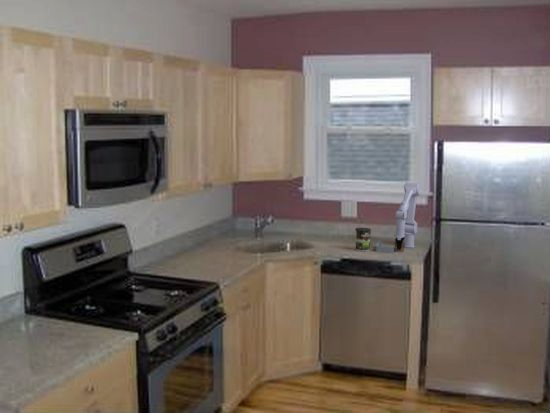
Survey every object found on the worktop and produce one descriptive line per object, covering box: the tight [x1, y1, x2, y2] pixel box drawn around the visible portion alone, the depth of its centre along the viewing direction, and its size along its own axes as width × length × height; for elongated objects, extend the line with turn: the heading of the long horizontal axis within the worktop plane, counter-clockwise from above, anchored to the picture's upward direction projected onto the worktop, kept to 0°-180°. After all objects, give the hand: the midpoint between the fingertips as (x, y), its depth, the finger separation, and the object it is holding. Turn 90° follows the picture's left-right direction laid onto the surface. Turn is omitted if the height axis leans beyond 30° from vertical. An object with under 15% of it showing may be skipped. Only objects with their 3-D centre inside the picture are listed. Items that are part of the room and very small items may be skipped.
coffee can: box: [354, 227, 372, 252], centre depth 415 cm, size 10×10×14 cm
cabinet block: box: [394, 241, 406, 253], centre depth 414 cm, size 4×6×6 cm
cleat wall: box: [375, 240, 395, 254], centre depth 417 cm, size 18×12×4 cm, turn 164°
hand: (399, 248), depth 414 cm, fingers closed on cabinet block, 4 cm apart
